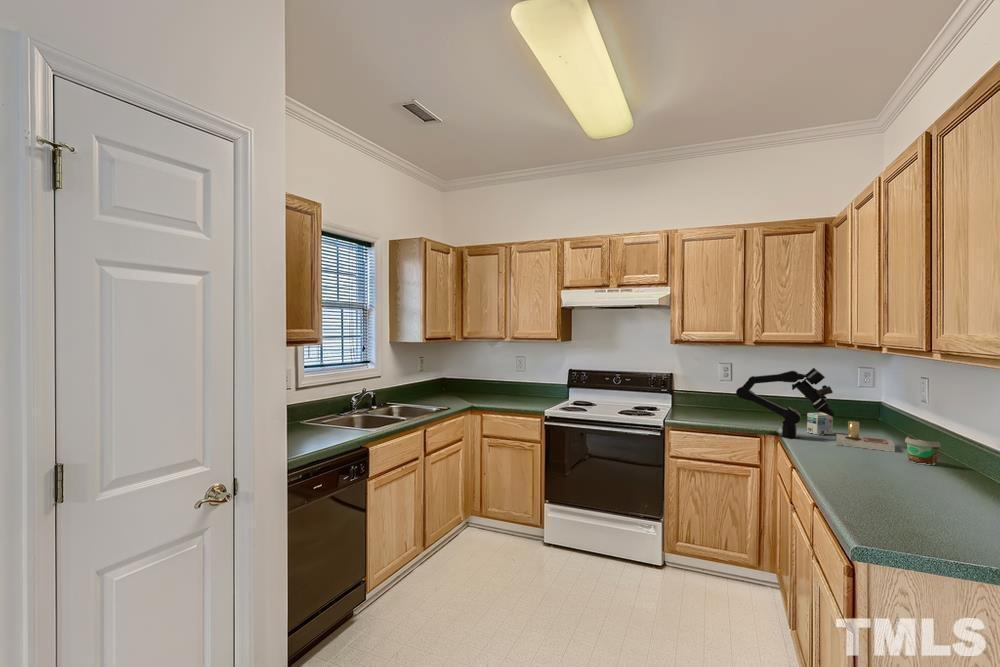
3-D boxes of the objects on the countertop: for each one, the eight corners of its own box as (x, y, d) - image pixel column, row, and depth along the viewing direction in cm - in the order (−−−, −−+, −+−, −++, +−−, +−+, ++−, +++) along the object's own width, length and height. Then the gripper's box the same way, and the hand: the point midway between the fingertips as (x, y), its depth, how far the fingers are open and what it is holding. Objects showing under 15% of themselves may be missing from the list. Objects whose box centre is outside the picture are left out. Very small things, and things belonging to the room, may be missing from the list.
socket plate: (836, 445, 240) (836, 438, 240) (836, 439, 252) (836, 433, 252) (894, 452, 228) (894, 444, 228) (891, 446, 240) (891, 439, 239)
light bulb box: (817, 435, 262) (817, 415, 262) (806, 432, 268) (806, 412, 268) (833, 434, 265) (833, 414, 264) (821, 431, 271) (822, 412, 271)
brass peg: (855, 446, 239) (855, 423, 239) (845, 443, 243) (846, 421, 243) (860, 445, 241) (861, 422, 241) (851, 443, 245) (851, 420, 245)
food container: (897, 459, 214) (898, 436, 214) (906, 458, 217) (907, 435, 217) (930, 467, 203) (931, 443, 203) (940, 466, 205) (940, 442, 205)
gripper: (821, 382, 241) (848, 407, 235) (821, 378, 257) (847, 402, 251) (802, 396, 246) (828, 421, 240) (803, 392, 261) (828, 416, 255)
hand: (833, 414), depth 246 cm, fingers open, 9 cm apart
